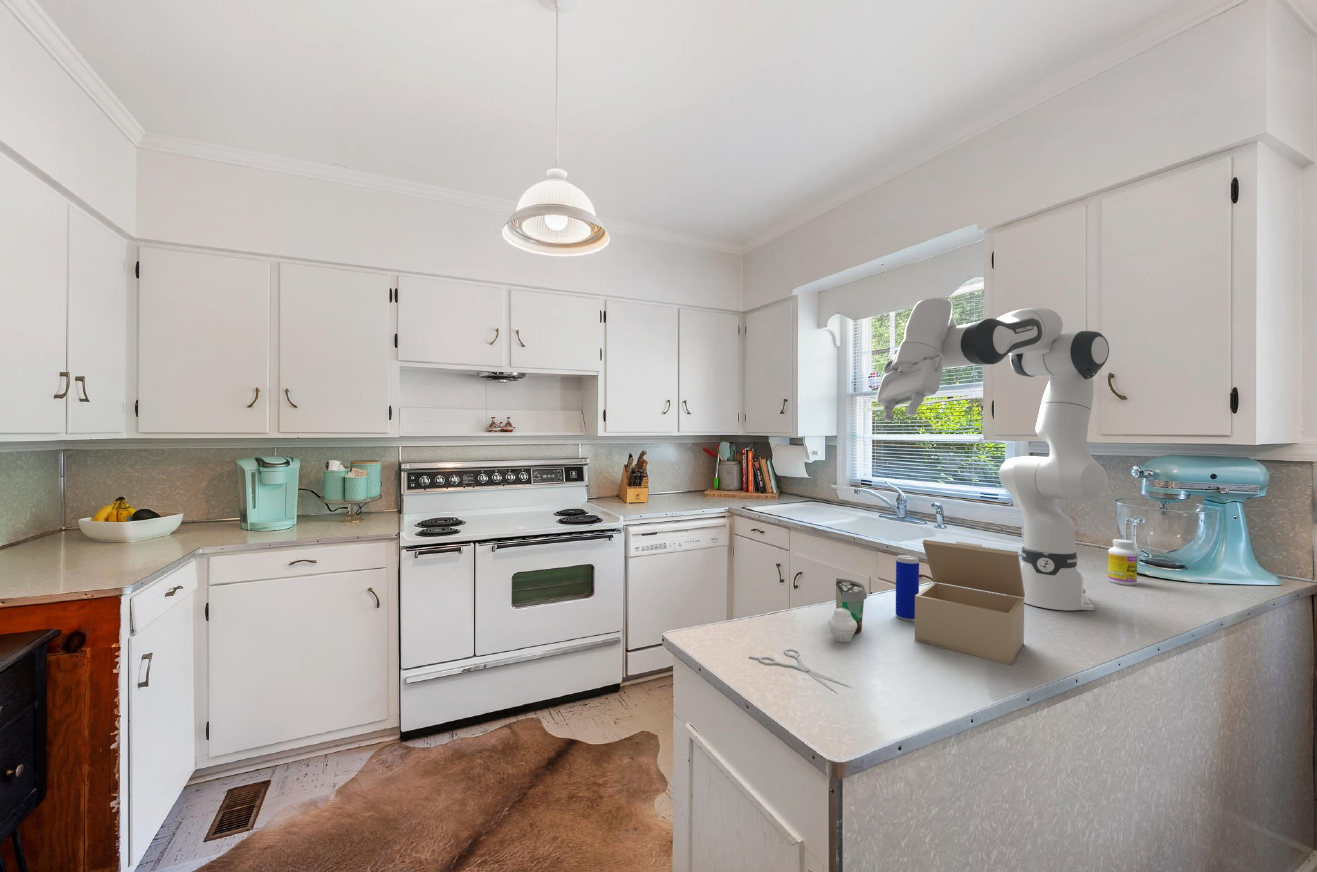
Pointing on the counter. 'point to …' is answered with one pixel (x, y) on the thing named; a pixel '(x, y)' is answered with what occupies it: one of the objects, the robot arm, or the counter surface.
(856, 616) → the food container
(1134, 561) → the supplement bottle
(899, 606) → the beverage can
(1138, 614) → the counter surface
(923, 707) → the counter surface
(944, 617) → the tan box
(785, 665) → the scissors
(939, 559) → the lid
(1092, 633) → the counter surface
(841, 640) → the muffin
